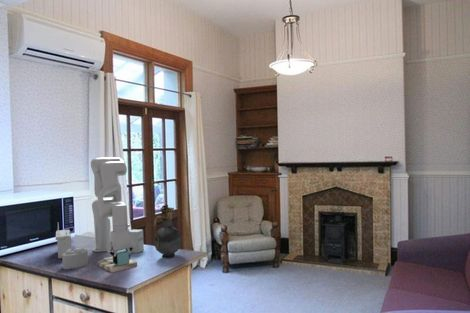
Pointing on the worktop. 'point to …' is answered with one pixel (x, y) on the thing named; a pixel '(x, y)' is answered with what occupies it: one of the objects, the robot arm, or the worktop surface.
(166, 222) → the pitcher
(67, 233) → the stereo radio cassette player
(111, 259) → the ticket board
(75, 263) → the lumpy-topped squat cylinder
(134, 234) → the supplement box
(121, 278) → the worktop surface
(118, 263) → the block
